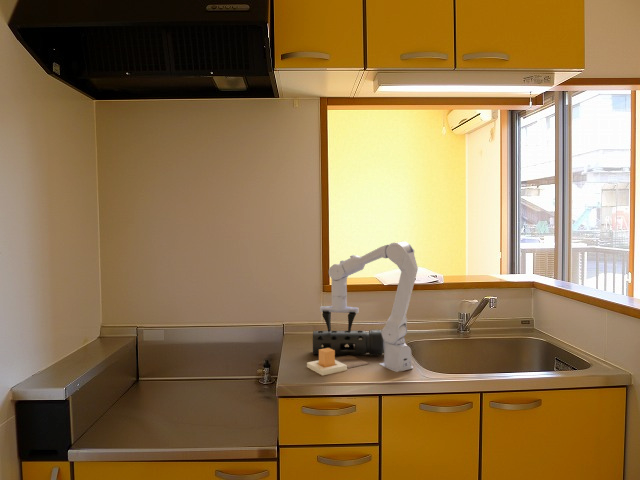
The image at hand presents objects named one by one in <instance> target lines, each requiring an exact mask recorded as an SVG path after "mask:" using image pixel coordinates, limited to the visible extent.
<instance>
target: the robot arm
mask: <svg viewBox="0 0 640 480" xmlns="http://www.w3.org/2000/svg"><path fill="white" fill-rule="evenodd" d="M382 258H383V259H389V260H390V261H391V262H392V263H394V264H395V265H396V266H397V267H398V269H399V271H400V276H399V280H398V284H397V289H396V292H395V296H394V301H393V305H392V309H391V313H390V315H389V317H388V319H387V320H386V323H385V325H384V326H383V328H382V329H381V330H382V337H383V339H384V353H383V355H384V357H383V362H380V363H379V364H378V365H379V366H381V367H384V368H386V369H388V370H390V371H393V372H396V373H398V372H403V371H407V370H412V369H414V366H413V365H412V348H411V347H410V346H409V345H407V343H406V339H405V337H406V335H407V334H408V326H407V325H408V324H407V323H408V317H407V313H408V309H409V305H410V302H411V298H412V293H413V289H414V285H415V281H416V278H417V273H418V267H419V266H418V264H417V260H416V257H415V249H414V248H413V247H412V245H411V244H410V243H408V242H407V241H404V240H402V241H400V242H398V241H397V242H391V243H389V244H386V245H382V246H379V247H377V248H376V249H374V250H372V251H370V252H368V253H365V254H364V255H362V256H360V255H357V254H356V255H355V254H352V255H350V256H349V258H348V259H345V260H340V261H339V263H334V264H333V265H331V266H330V267H329V269H328V276H329V278H331V305H329V306H328V305H325V306H323V305H321V306H320V307H319V313H322V315H321V316H322V317H323V319H324V322H325V324H326V328H327V331H328V332H330V331H332V324H331V318H332V317H331V315H332V313H344V314H345V313H346V314H347V321H348V322H347V323H348V324H347V326H348V327H347V331H348V333H350V332H351V331H352V325H353V323H354V320H355V317H356V314H358V315H359V312H360V308H359V307H355V306H348V297H347V296H348V288H347V285H348V283H347V282H348V278H349V276H351V275H353V274H355V273H359V272H361V271H363V270H364V268H365V265H368V264H369V263H372V262H374V261H377V260H380V259H382Z"/></svg>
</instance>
